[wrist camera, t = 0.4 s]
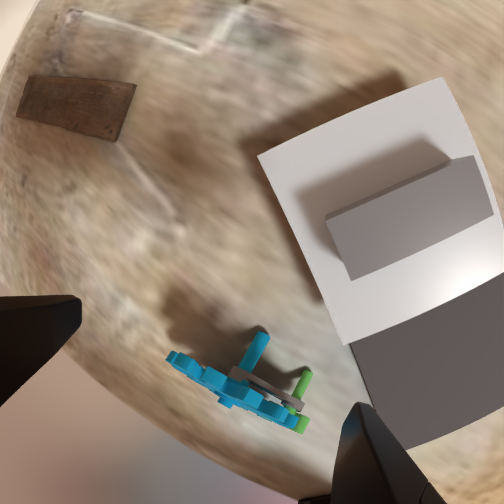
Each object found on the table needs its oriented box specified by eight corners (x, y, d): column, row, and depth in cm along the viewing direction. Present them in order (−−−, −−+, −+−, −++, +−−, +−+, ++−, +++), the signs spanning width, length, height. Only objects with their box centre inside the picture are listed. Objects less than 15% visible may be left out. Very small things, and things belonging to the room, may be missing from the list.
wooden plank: (131, 82, 21) (110, 141, 22) (140, 86, 22) (119, 144, 23) (28, 75, 23) (13, 117, 24) (36, 78, 25) (22, 119, 26)
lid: (508, 264, 15) (537, 280, 11) (342, 340, 18) (343, 372, 15) (439, 79, 14) (460, 58, 10) (259, 156, 17) (242, 150, 14)
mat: (522, 391, 18) (523, 394, 18) (390, 452, 22) (391, 454, 22) (510, 256, 17) (513, 257, 17) (346, 333, 21) (346, 335, 21)
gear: (159, 367, 24) (162, 366, 15) (196, 310, 27) (219, 277, 18) (270, 430, 25) (328, 453, 16) (300, 373, 27) (367, 369, 18)
